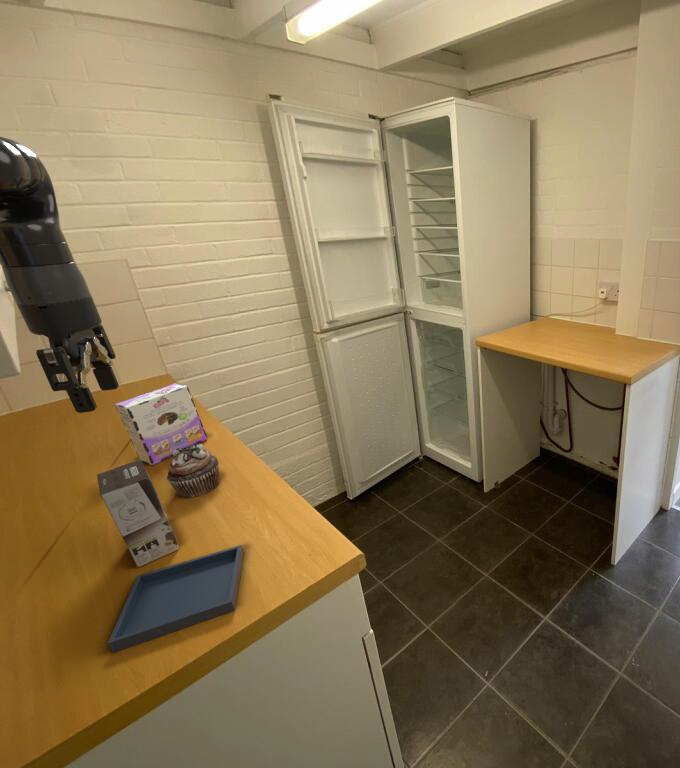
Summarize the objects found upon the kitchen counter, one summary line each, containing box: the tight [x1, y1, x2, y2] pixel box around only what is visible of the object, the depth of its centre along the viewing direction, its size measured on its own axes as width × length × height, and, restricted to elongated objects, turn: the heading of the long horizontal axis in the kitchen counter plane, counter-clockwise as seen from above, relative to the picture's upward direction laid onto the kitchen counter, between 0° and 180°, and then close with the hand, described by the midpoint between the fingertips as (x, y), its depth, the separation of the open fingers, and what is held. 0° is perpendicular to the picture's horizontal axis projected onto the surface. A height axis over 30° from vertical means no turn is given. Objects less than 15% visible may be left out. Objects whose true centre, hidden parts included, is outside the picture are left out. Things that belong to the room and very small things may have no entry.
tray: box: [107, 544, 245, 653], centre depth 68 cm, size 15×13×2 cm
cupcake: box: [166, 443, 221, 499], centre depth 94 cm, size 10×10×10 cm
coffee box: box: [96, 459, 180, 568], centre depth 76 cm, size 9×6×16 cm
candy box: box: [114, 382, 209, 466], centre depth 108 cm, size 14×6×16 cm, turn 155°
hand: (99, 399), depth 65 cm, fingers open, 8 cm apart
